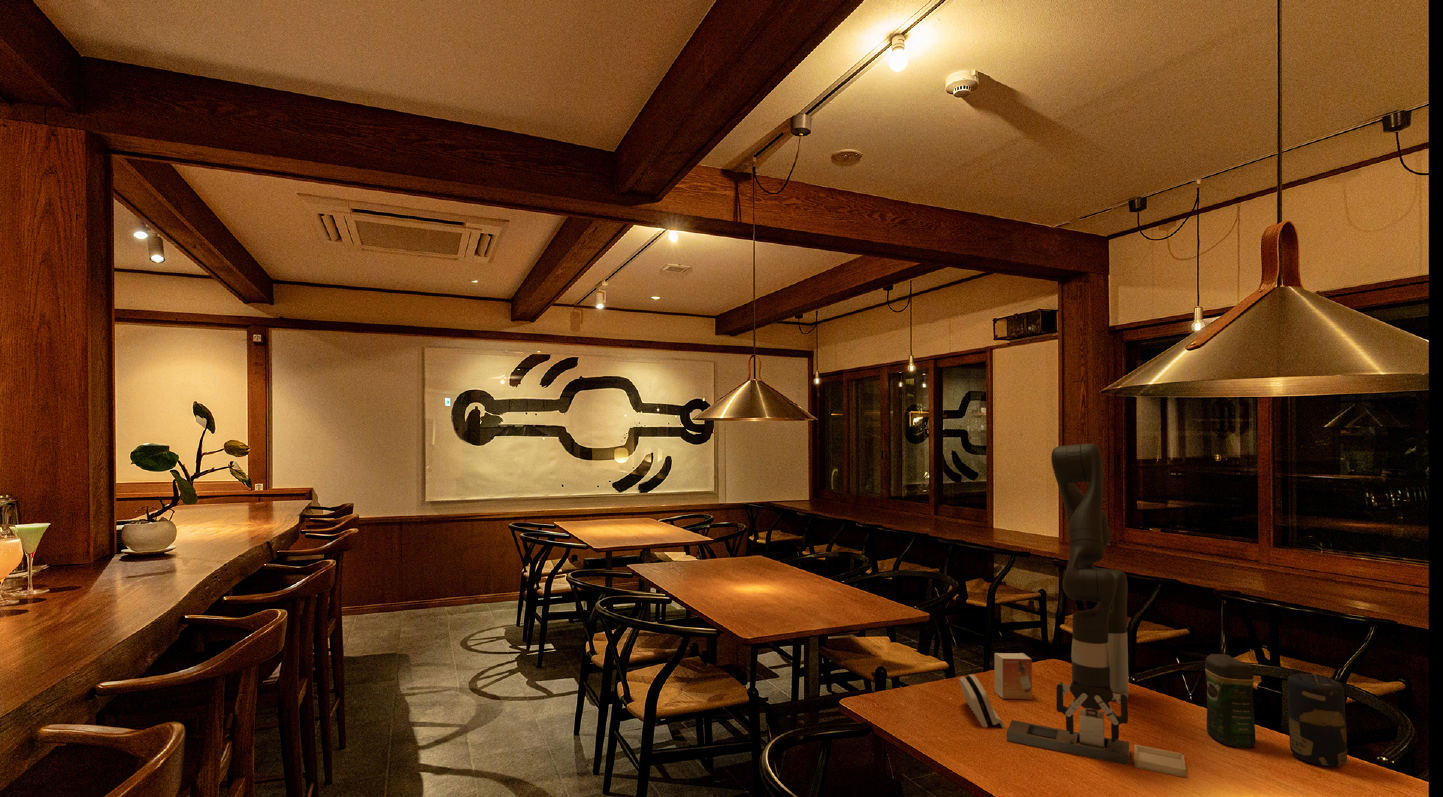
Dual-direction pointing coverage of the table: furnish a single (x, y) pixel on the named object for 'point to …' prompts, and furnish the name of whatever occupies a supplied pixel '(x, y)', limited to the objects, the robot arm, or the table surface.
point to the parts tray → (1160, 761)
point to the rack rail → (1066, 742)
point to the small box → (1013, 675)
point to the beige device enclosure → (979, 701)
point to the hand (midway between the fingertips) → (1092, 737)
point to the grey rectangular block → (1092, 728)
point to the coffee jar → (1230, 701)
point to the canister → (1317, 719)
